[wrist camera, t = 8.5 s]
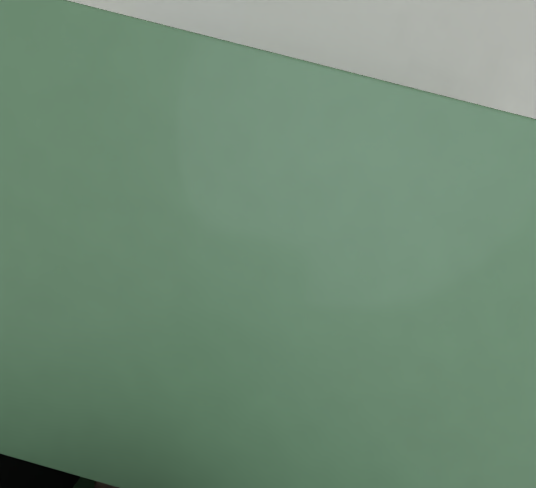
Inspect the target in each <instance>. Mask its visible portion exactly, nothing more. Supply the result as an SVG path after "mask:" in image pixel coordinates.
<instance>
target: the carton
mask: <svg viewBox="0 0 536 488" xmlns="http://www.w3.org/2000/svg"><path fill="white" fill-rule="evenodd" d="M0 454H4V455H7V456H10V457H14V458H17V459H21V460H24V461H28V462H31V463H35V464H38V465H42V466H45V467H49V468H52V469H56V470H59V471H63V472H66V473H70V474H73V475H77V476H80V478H79V480H78V481H77V483H76V484H75V485H74V487H73V488H94V485H95V481H98V482H101V483H105V484H108V485H112V486H115V487H119V488H536V119H533V118H529V117H525V116H521V115H517V114H513V113H509V112H505V111H501V110H497V109H493V108H489V107H485V106H482V105H478V104H474V103H470V102H466V101H462V100H458V99H454V98H450V97H446V96H442V95H438V94H434V93H430V92H426V91H422V90H418V89H414V88H410V87H407V86H403V85H399V84H395V83H391V82H387V81H383V80H379V79H375V78H371V77H367V76H363V75H359V74H355V73H351V72H347V71H343V70H339V69H335V68H332V67H328V66H324V65H320V64H316V63H312V62H308V61H304V60H300V59H296V58H292V57H288V56H284V55H280V54H276V53H272V52H268V51H264V50H260V49H257V48H253V47H249V46H245V45H241V44H237V43H233V42H229V41H225V40H221V39H217V38H213V37H209V36H205V35H201V34H197V33H193V32H189V31H185V30H182V29H178V28H174V27H170V26H166V25H162V24H158V23H154V22H150V21H146V20H142V19H138V18H134V17H130V16H126V15H122V14H118V13H114V12H110V11H107V10H103V9H99V8H95V7H91V6H87V5H83V4H79V3H75V2H71V1H67V0H0Z"/></svg>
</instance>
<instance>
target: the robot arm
mask: <svg viewBox="0 0 536 488" xmlns="http://www.w3.org/2000/svg"><path fill="white" fill-rule="evenodd" d="M79 478H80V476H77V475H73V474H70V473H66V472H63V471H59V470H56V469H52V468H49V467H45V466H42V465H38V464H35V463H31V462H28V461H24V460H21V459H17V458H14V457H10V456H7V455H4V454H0V488H73V487H74V485H75V484H76V483H77V481H78V480H79Z"/></svg>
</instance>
